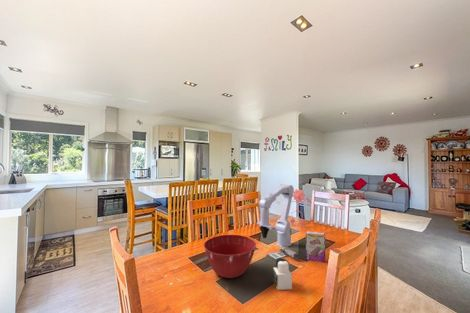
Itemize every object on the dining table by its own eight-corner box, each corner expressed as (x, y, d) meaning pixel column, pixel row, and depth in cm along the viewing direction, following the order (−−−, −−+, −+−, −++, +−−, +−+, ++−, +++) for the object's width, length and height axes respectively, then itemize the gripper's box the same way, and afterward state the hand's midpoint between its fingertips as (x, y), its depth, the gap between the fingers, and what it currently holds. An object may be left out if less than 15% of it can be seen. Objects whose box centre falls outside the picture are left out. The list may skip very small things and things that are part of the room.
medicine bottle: (273, 281, 104) (273, 257, 104) (287, 281, 105) (286, 256, 105) (277, 290, 97) (277, 264, 97) (292, 289, 98) (292, 263, 98)
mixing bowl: (238, 294, 94) (238, 259, 94) (192, 275, 109) (192, 246, 110) (264, 268, 118) (264, 240, 118) (223, 256, 133) (223, 231, 133)
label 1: (273, 253, 136) (273, 252, 136) (280, 257, 130) (280, 256, 130) (268, 254, 134) (268, 254, 134) (276, 259, 128) (276, 258, 128)
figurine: (309, 229, 189) (309, 190, 191) (283, 224, 205) (283, 188, 207) (315, 226, 201) (314, 189, 203) (289, 221, 217) (289, 187, 219)
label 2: (278, 252, 139) (278, 251, 139) (286, 256, 133) (286, 255, 133) (274, 253, 137) (274, 252, 137) (281, 257, 131) (281, 256, 131)
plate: (278, 251, 140) (278, 251, 140) (287, 257, 132) (287, 256, 132) (265, 255, 134) (265, 254, 134) (275, 260, 127) (275, 260, 127)
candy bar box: (305, 260, 128) (305, 233, 128) (305, 256, 132) (305, 230, 133) (325, 263, 124) (325, 235, 125) (324, 259, 129) (324, 232, 129)
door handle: (281, 250, 138) (281, 246, 138) (285, 250, 139) (285, 245, 139) (295, 259, 125) (295, 254, 125) (300, 258, 127) (299, 253, 127)
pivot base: (285, 251, 141) (285, 249, 141) (291, 254, 136) (291, 252, 136) (278, 253, 138) (278, 251, 138) (285, 256, 133) (285, 254, 133)
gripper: (253, 215, 145) (253, 235, 144) (266, 220, 132) (266, 242, 132) (261, 214, 148) (261, 233, 148) (275, 219, 136) (275, 240, 135)
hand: (264, 237), depth 140 cm, fingers closed
